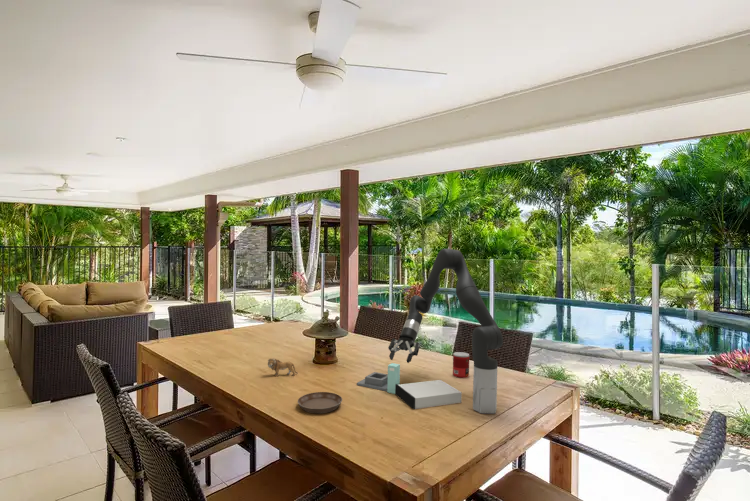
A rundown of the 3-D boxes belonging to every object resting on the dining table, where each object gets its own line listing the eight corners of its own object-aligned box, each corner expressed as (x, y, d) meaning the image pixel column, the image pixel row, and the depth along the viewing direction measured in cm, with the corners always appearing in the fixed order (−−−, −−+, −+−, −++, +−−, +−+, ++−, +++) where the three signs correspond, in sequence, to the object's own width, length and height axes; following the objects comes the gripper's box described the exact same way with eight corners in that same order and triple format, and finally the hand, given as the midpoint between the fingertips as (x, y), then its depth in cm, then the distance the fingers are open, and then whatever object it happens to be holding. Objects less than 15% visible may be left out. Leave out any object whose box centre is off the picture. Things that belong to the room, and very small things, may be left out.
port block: (399, 383, 198) (399, 375, 198) (387, 391, 188) (387, 382, 188) (369, 378, 206) (369, 369, 206) (356, 385, 195) (356, 376, 195)
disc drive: (395, 395, 184) (395, 384, 184) (440, 389, 193) (440, 378, 193) (413, 410, 168) (413, 398, 168) (461, 403, 176) (461, 391, 176)
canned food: (469, 378, 208) (469, 356, 208) (452, 377, 210) (453, 355, 210) (468, 374, 216) (469, 352, 215) (452, 372, 217) (453, 351, 217)
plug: (399, 391, 188) (400, 364, 188) (395, 394, 185) (396, 366, 185) (391, 389, 190) (392, 363, 190) (387, 392, 187) (387, 365, 187)
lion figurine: (267, 378, 203) (268, 359, 203) (267, 375, 208) (267, 356, 208) (298, 375, 207) (298, 357, 207) (297, 372, 212) (297, 354, 212)
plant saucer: (300, 418, 158) (300, 409, 158) (295, 400, 175) (295, 393, 175) (346, 413, 163) (346, 405, 163) (337, 397, 180) (337, 390, 180)
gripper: (394, 325, 205) (382, 353, 195) (421, 328, 198) (411, 358, 188) (399, 333, 209) (387, 362, 199) (425, 337, 202) (415, 367, 193)
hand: (399, 360), depth 194 cm, fingers open, 8 cm apart
